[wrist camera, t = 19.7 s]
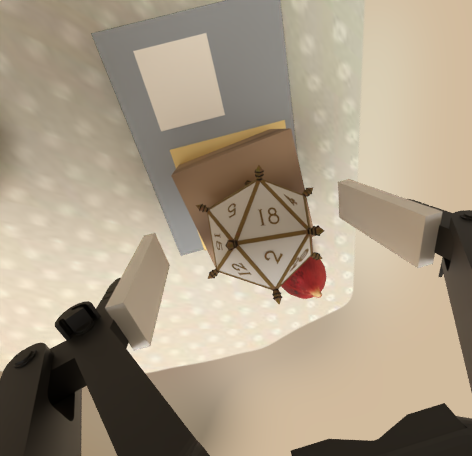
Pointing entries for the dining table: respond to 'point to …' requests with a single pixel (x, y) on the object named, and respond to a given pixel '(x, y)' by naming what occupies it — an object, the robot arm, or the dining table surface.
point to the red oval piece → (307, 280)
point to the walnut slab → (237, 173)
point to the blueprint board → (198, 89)
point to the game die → (261, 233)
